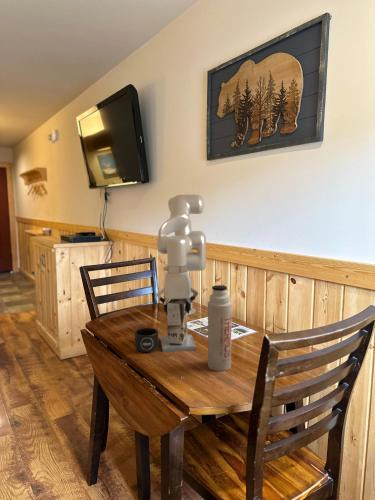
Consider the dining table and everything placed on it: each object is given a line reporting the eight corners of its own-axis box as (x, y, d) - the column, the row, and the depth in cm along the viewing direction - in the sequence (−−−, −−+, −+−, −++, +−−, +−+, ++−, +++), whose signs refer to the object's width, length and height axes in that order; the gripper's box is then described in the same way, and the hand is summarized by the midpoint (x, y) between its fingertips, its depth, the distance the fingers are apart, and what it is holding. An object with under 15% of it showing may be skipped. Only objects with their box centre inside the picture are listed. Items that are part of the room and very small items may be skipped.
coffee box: (183, 344, 133) (182, 303, 131) (167, 343, 134) (166, 302, 132) (187, 335, 141) (187, 297, 139) (172, 334, 143) (172, 296, 141)
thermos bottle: (235, 368, 117) (236, 287, 113) (214, 372, 114) (214, 290, 110) (223, 358, 124) (224, 282, 121) (203, 363, 121) (203, 285, 117)
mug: (159, 353, 129) (159, 335, 129) (135, 355, 128) (134, 336, 127) (156, 341, 141) (156, 324, 140) (134, 342, 140) (134, 325, 139)
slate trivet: (160, 339, 143) (160, 336, 143) (191, 337, 145) (191, 334, 145) (162, 351, 130) (162, 348, 130) (196, 349, 132) (196, 346, 132)
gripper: (155, 272, 129) (156, 317, 131) (200, 270, 132) (200, 314, 134) (154, 268, 137) (154, 311, 139) (197, 267, 139) (197, 309, 141)
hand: (177, 312), depth 136 cm, fingers closed on coffee box, 7 cm apart
